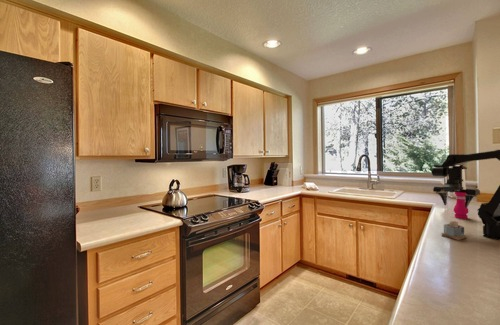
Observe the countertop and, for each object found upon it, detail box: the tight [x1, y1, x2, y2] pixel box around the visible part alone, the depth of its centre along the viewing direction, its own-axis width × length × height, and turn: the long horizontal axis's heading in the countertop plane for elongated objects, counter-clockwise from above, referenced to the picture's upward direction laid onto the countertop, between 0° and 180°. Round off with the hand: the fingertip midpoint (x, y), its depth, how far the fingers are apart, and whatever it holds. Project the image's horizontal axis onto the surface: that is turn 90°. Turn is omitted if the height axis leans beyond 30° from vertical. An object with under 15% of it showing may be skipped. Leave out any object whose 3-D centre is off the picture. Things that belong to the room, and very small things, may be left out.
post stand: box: [441, 220, 467, 241], centre depth 117 cm, size 7×7×7 cm
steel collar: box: [443, 223, 465, 237], centre depth 117 cm, size 7×7×4 cm
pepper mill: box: [453, 192, 469, 220], centre depth 154 cm, size 7×7×20 cm
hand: (455, 206), depth 131 cm, fingers open, 9 cm apart
